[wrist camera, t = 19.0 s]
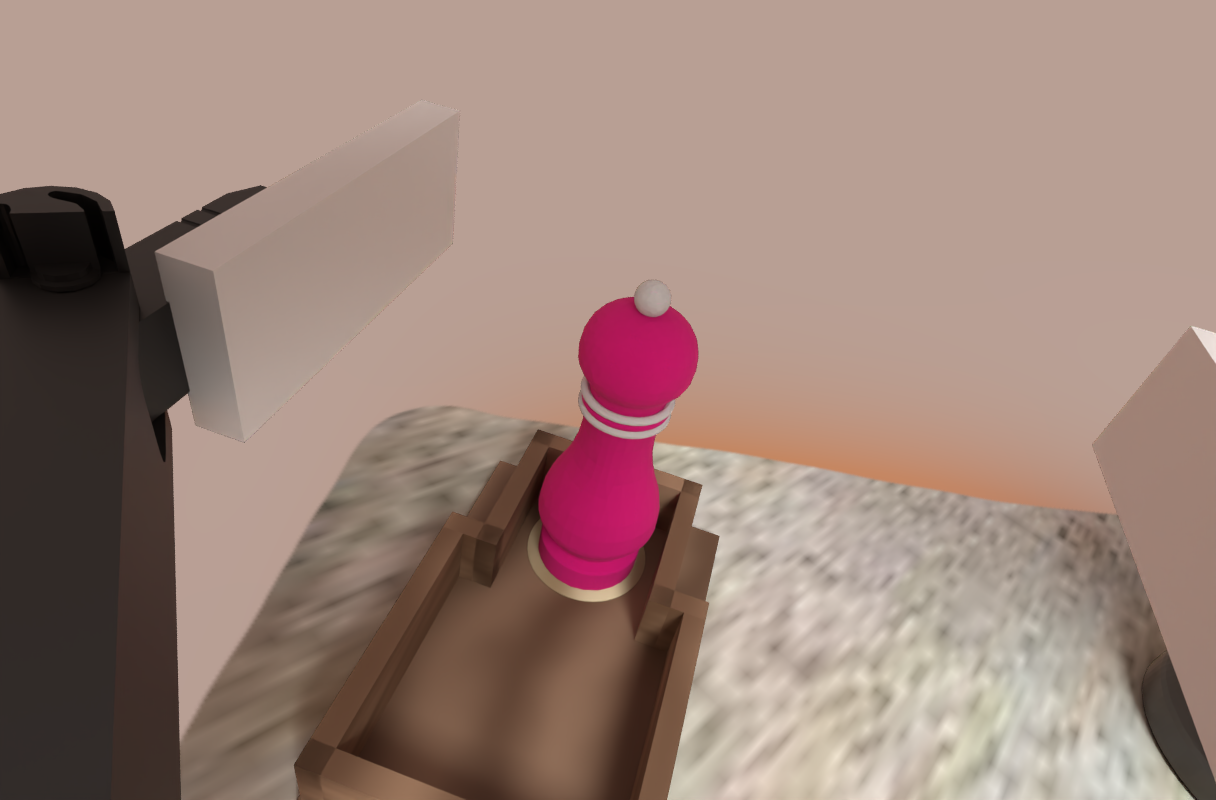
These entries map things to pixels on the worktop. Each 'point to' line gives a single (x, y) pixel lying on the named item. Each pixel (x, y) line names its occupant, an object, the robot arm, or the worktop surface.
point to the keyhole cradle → (522, 663)
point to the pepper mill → (616, 439)
